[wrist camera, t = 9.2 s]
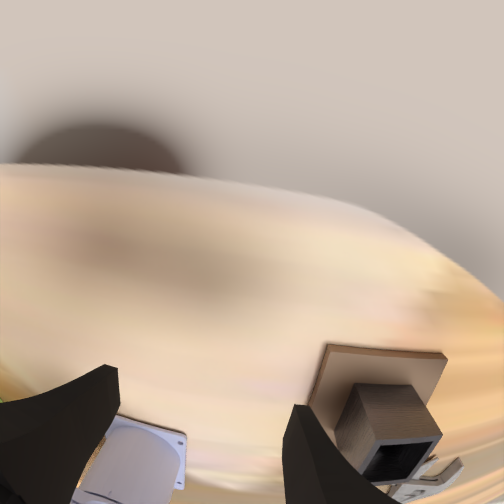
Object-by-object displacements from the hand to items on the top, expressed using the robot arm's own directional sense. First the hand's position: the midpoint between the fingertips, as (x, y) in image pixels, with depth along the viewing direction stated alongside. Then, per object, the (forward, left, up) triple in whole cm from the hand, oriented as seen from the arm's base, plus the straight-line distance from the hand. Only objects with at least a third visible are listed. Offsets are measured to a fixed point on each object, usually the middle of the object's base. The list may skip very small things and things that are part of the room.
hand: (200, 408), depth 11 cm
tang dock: (-6, -12, -9) cm, 16 cm away
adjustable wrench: (-24, -19, -10) cm, 32 cm away
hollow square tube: (-6, -12, -8) cm, 16 cm away
